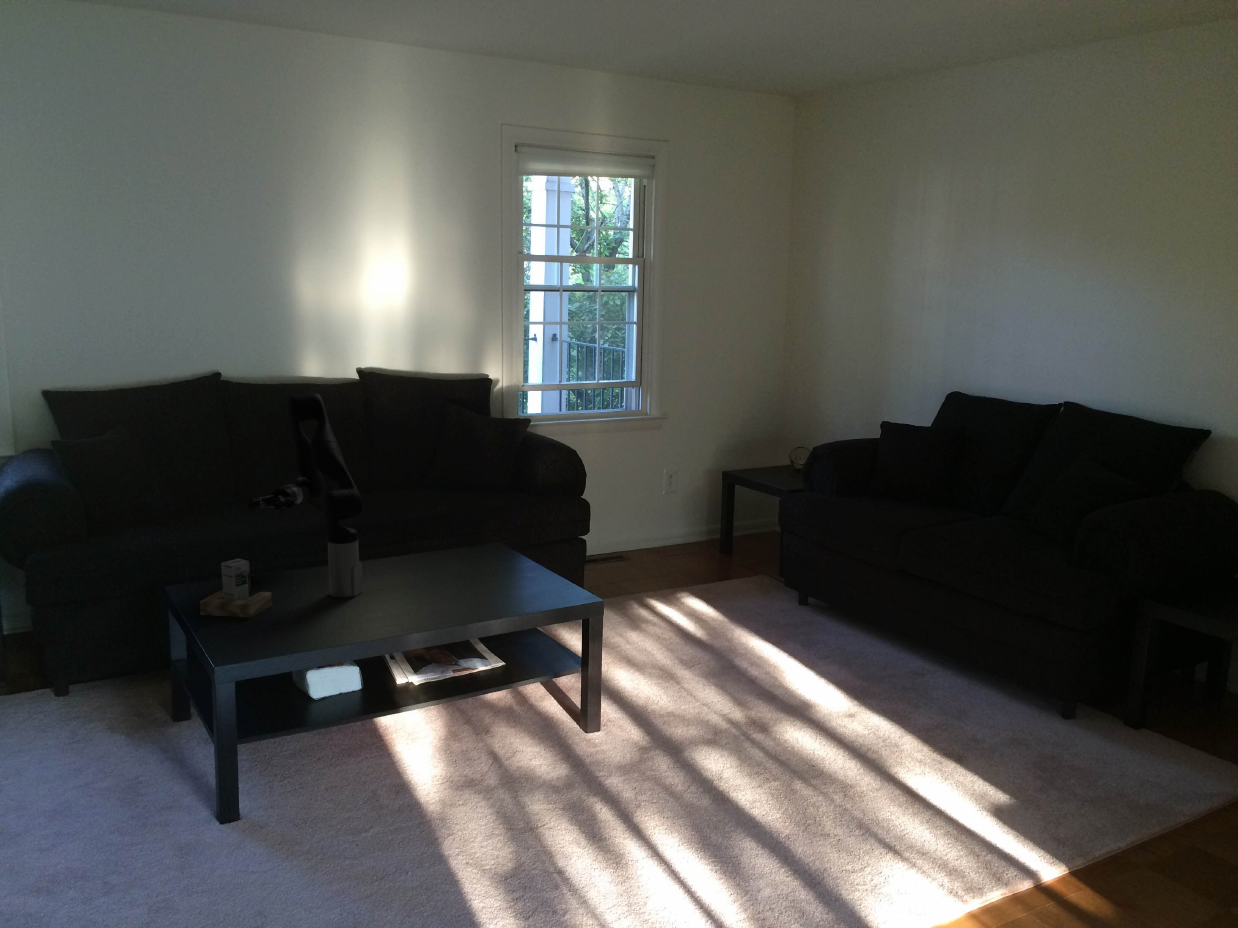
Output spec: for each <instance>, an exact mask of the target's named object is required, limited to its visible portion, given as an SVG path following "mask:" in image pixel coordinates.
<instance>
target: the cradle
mask: <svg viewBox="0 0 1238 928" xmlns="http://www.w3.org/2000/svg"><path fill="white" fill-rule="evenodd" d="M251 596H252V597H251V598H249V599H247V600H245V601H241V600H224V593H223V589H221V590H219V591H217V592H215V593H213V594H212V595H209V596H208V597H205V598H204V599H202V600H200V601H199V610H200V616H216V617H217V616H218V617H231V616H232V617H235V618H251V619H252V618H253V617H255V616H257V615H258V614H260V613H261V612H264V611H265V610H266V609H268V608H269V607H271V606H272V605H273V599H272V592H270V591H268V592H267V591H259V592H257V593H255V594H254V595H251Z"/></svg>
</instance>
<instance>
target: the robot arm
mask: <svg viewBox="0 0 1238 928" xmlns="http://www.w3.org/2000/svg"><path fill="white" fill-rule="evenodd" d="M287 404H288V405H287V407H288V416H289V421H290V426H291V433H292V436H293V437H292V438H293V440H294V447H295V452H296V466H297V467H296V468H297V473H298V474H299V475H300V476H299V477H297V478H296V479H295V480H294V481H293V482H292V483H291V484H286V485H283V486H281V487H278V488H275V489H273V491H271V493H270V495H267V496H262V495H261V496H259V495H258V496H256V497H252V498H249V499H248V500H249V502H248V504H247V506H248V509H249V510H254V509H256V508H261V509H266V508H271V509H272V508H274V511H280V512H281V511H286V510H288V509H291V508H295V507H296V506H298V505H299V504H301V503H304V502H305V501H306V500H307V499H308V500H312V501H313V500H314V501H319V500H321V499H322V498H323V497H324V498H323V503H324V504H323V505H324V515H325V516H324V517H325V527H326V537H327V538H326V539H327V556H328V559H327V561H328V580H329V581H328V582H329V584H328V585H329V595H330V596H331V597H333V598H343V599H344V598H352V597H353V598H354V597H357V596H359V594H361V593H362V592H364V591H363V590H364V589H363V563H362V562H361V561H360V553H359V552H360V551H359V534H358V533H359V532H358V530H357V529H354V528H350V527H346V526H344V525H341V524H340V523H341V522H340V520H347V519H349V520H350V519H355V518H358V517H360V516H361V515H362V514H363V512H364V503H363V499H362V496H361V494H360V491H359V489H358V488H357V485H356V483H355V482H354V480H353V478H352V476H351V474H350V472H349V469H348V467H347V465H346V464H347V463H346V462H345V458H344V455H343V452H342V450H341V448H340V445H339V443H338V441H337V438H336V436H335V433H334V431H333V429H332V425H331V423H330V420H329V416H328V412H327V409H326V405H325V403H324V400H323V398H322V396H321V395H320V394H319V393H316V392H313V393H312V392H311V393H304V394H295V395H293V396H290V397H289V399H288V403H287ZM311 422H317V427H316V431H315V432H314V435H313V437H312V439H311V440H310V438H309V437H308V436H307V434H306V433H305V431H304V429H303V427H302V424H303V423H311ZM322 475H323V476H324V477H326V478H327V479H329V480H330V481H331V482H333V483H334V484H336V485H337V487H338V488H339V489H334V490H328V491H326V484H325V482H324V478H323V476H322Z"/></svg>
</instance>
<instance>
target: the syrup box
mask: <svg viewBox="0 0 1238 928" xmlns="http://www.w3.org/2000/svg"><path fill="white" fill-rule="evenodd" d="M220 566H221V567H220V568H221V577H222V578H221V579H222V590H223V593H224V600H241V601H245V600H247V599H249V598H251V597H252V596H253V595H252V583H251V570H250V561H249V560H246V559H244V558H235V559H232V560H228V561H223V562H221V564H220Z"/></svg>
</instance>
